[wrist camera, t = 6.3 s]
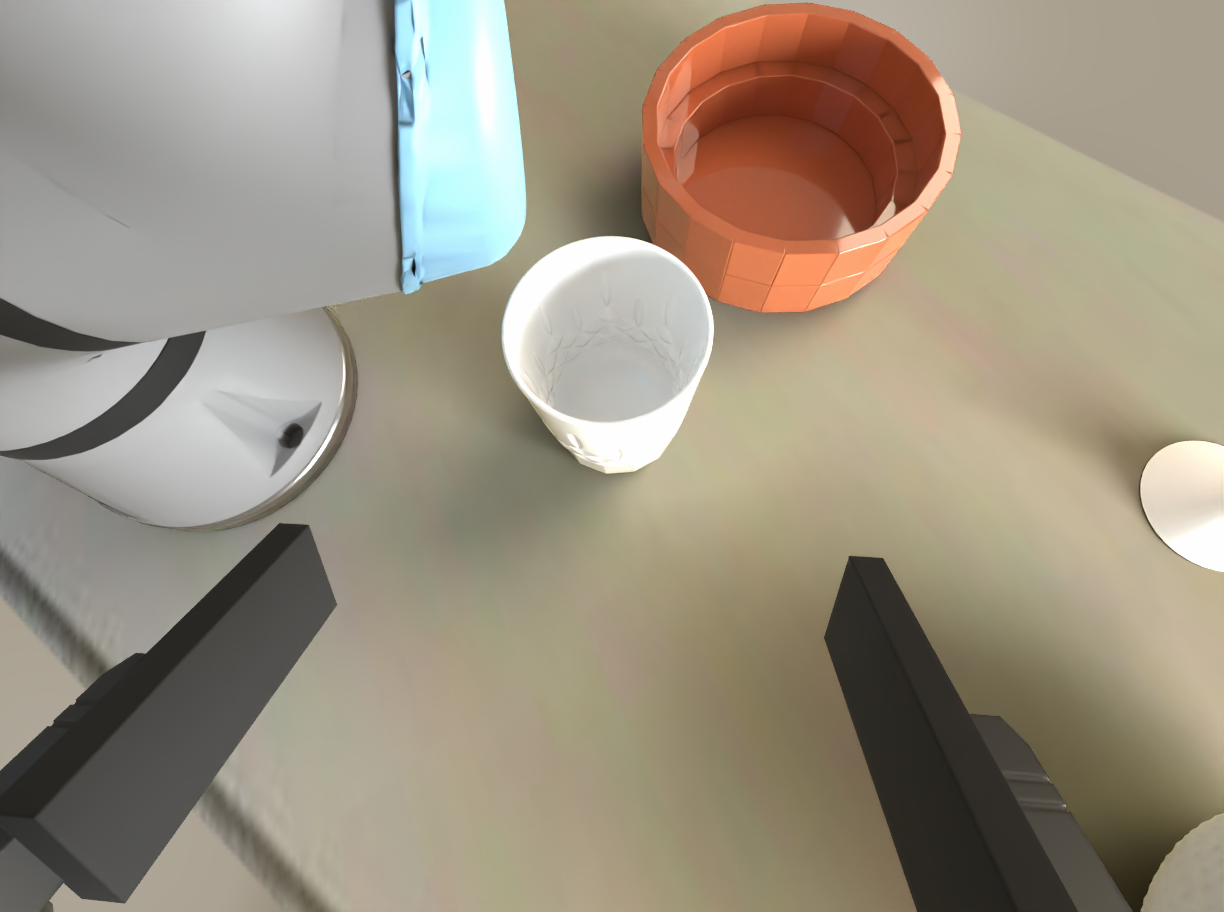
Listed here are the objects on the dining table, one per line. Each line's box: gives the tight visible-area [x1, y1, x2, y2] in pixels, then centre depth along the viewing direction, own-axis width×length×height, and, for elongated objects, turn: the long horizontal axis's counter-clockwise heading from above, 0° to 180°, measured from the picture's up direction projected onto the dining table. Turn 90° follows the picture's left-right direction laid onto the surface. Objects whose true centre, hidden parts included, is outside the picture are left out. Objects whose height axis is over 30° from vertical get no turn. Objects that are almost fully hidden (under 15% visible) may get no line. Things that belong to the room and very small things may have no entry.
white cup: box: [501, 236, 713, 474], centre depth 24 cm, size 8×8×10 cm
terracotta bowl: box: [641, 3, 961, 312], centre depth 29 cm, size 16×16×6 cm
